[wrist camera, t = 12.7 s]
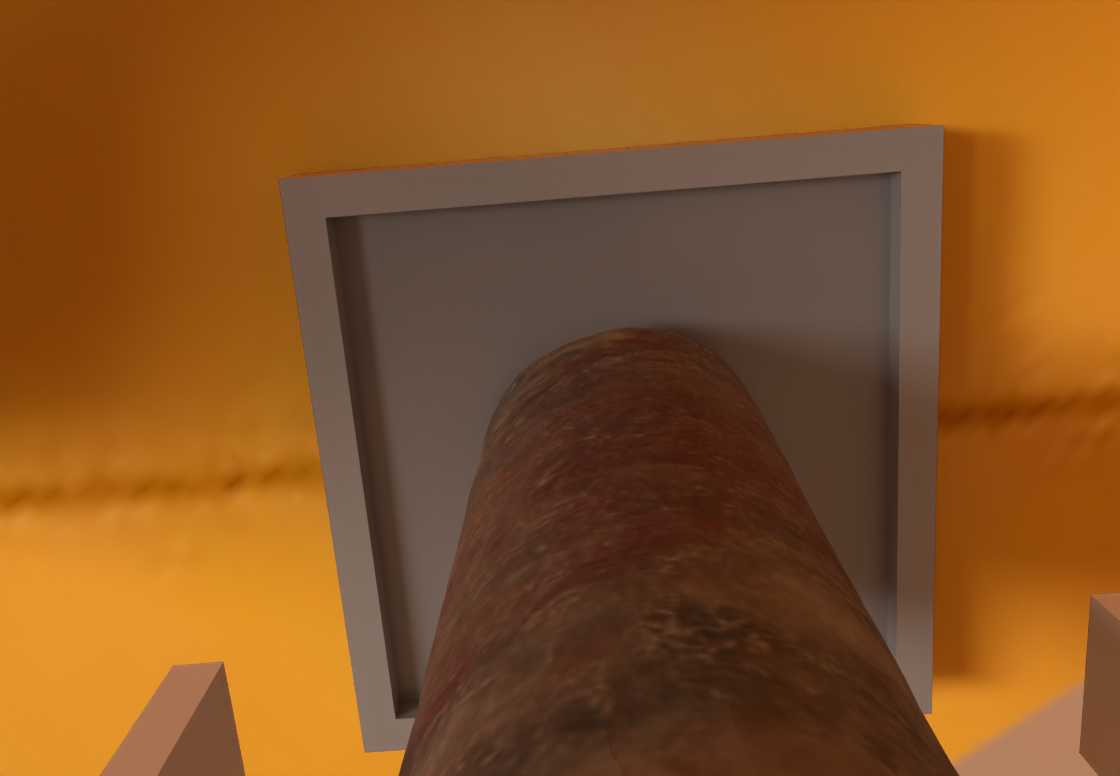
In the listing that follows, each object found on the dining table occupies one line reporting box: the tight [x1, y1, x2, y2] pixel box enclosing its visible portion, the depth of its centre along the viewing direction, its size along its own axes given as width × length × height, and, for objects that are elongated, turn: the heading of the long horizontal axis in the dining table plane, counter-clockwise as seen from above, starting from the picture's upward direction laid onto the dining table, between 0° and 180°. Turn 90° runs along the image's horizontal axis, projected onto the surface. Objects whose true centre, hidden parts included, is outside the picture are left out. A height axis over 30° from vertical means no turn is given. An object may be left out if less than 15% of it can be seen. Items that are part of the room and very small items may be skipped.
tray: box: [278, 124, 944, 753], centre depth 27 cm, size 16×16×2 cm
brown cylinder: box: [399, 327, 959, 776], centre depth 17 cm, size 8×7×20 cm
